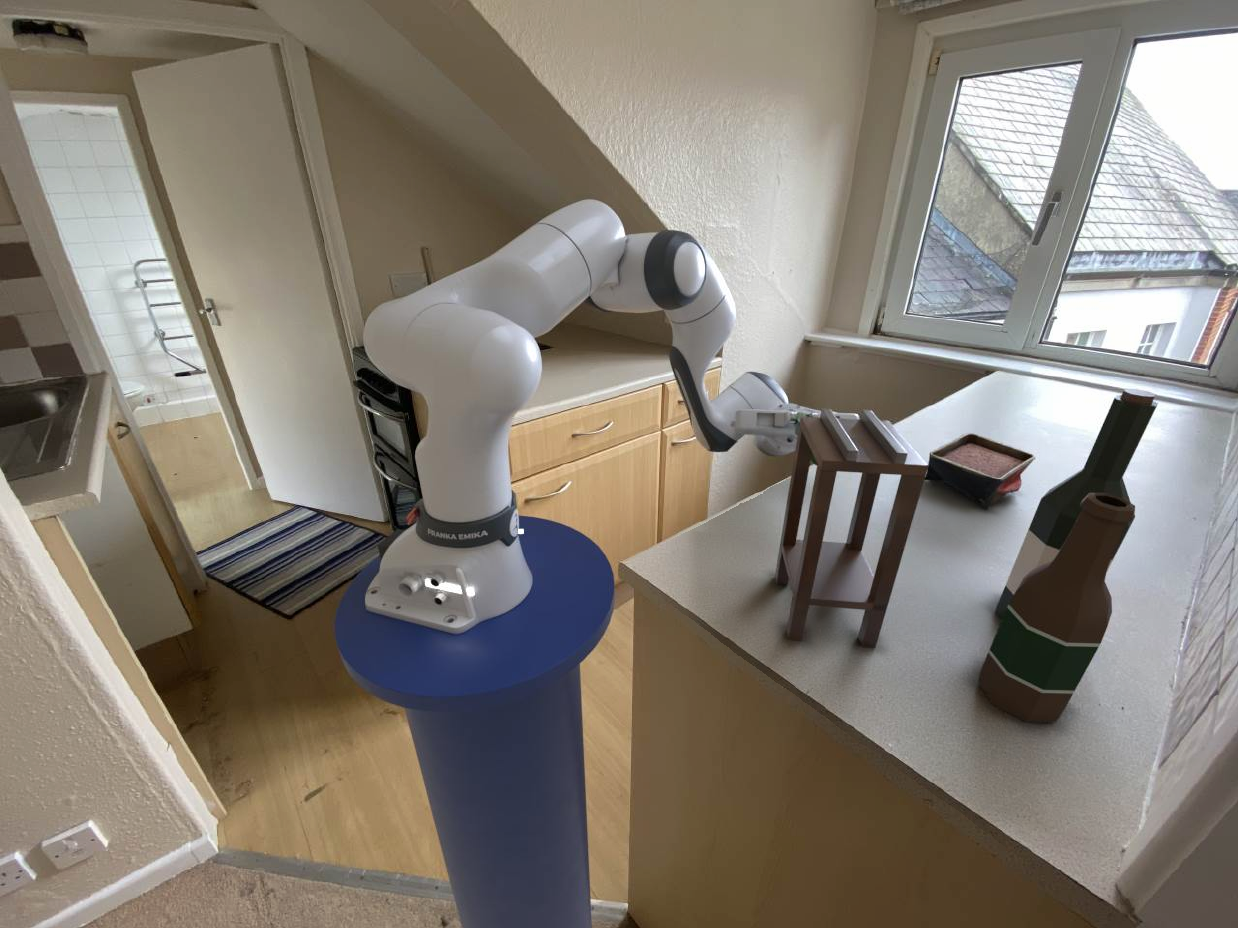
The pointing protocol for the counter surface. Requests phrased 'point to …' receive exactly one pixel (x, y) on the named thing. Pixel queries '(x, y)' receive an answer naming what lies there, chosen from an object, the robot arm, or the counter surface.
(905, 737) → the counter surface
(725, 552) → the counter surface
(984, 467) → the baking dish
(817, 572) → the bottle rack
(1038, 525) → the wine bottle
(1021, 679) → the beer bottle
